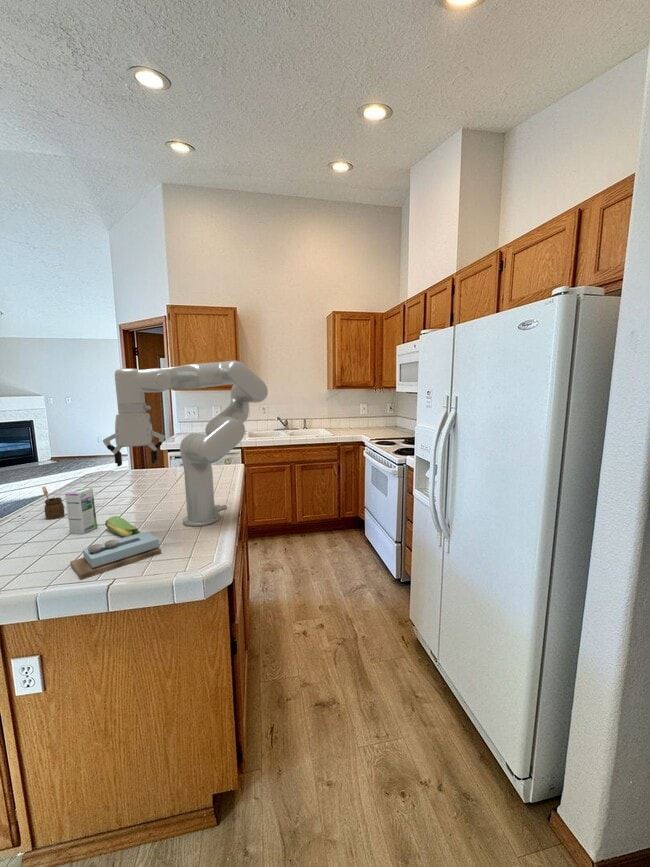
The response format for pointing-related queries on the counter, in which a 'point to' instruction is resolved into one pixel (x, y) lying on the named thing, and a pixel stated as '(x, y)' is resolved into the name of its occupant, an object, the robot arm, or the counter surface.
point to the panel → (122, 549)
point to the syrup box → (81, 510)
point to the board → (86, 570)
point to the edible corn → (121, 527)
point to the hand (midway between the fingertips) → (137, 464)
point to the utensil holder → (53, 506)
